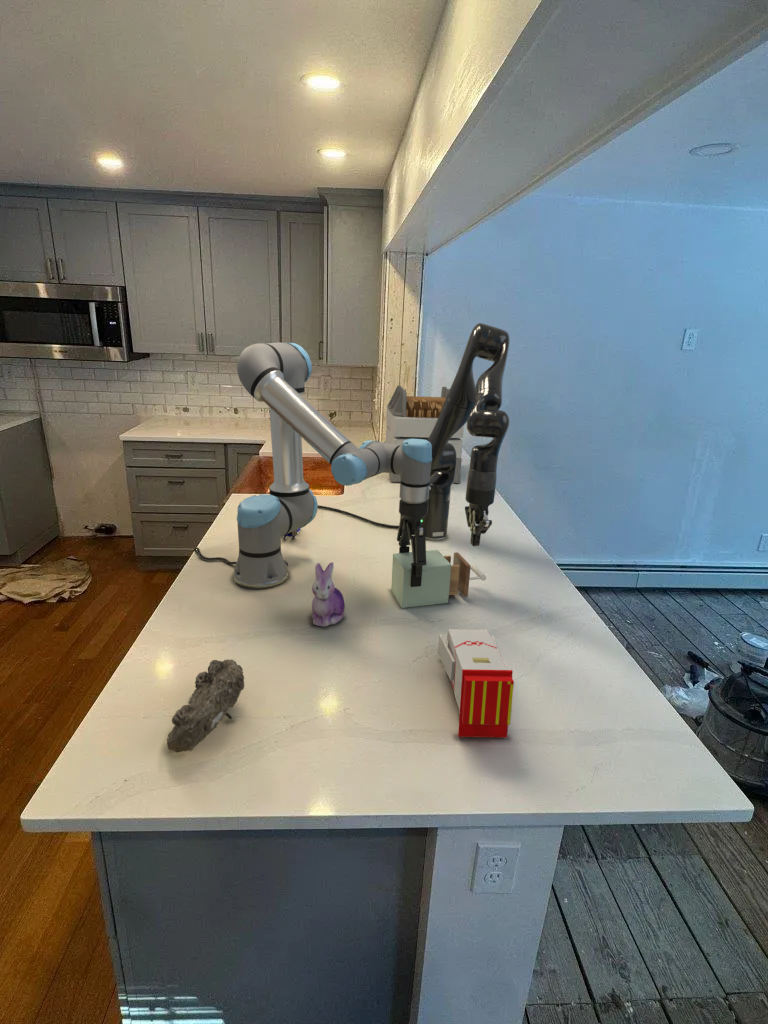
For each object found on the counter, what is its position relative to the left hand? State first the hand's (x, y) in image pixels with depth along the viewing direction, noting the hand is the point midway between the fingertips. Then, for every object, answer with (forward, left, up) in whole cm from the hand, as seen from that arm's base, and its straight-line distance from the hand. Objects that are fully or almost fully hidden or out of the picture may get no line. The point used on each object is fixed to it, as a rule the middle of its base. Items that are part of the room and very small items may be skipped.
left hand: (409, 577), depth 154 cm
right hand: (+17, +8, +8) cm, 20 cm away
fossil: (-30, -57, -6) cm, 64 cm away
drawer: (+11, +6, -5) cm, 14 cm away
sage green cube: (+3, +1, -6) cm, 7 cm away
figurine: (-18, -16, -6) cm, 25 cm away
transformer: (-13, +126, -6) cm, 127 cm away
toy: (+18, -37, -6) cm, 42 cm away
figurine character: (-46, +34, -6) cm, 57 cm away
